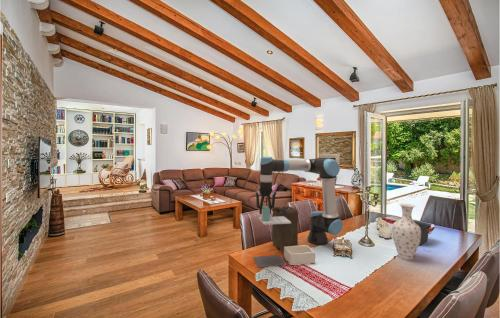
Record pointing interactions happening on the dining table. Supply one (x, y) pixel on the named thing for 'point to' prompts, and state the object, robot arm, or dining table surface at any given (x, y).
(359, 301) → the dining table surface
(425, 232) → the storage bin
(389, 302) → the dining table surface
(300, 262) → the tub
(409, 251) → the vase
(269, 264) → the mat
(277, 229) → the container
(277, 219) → the lid
